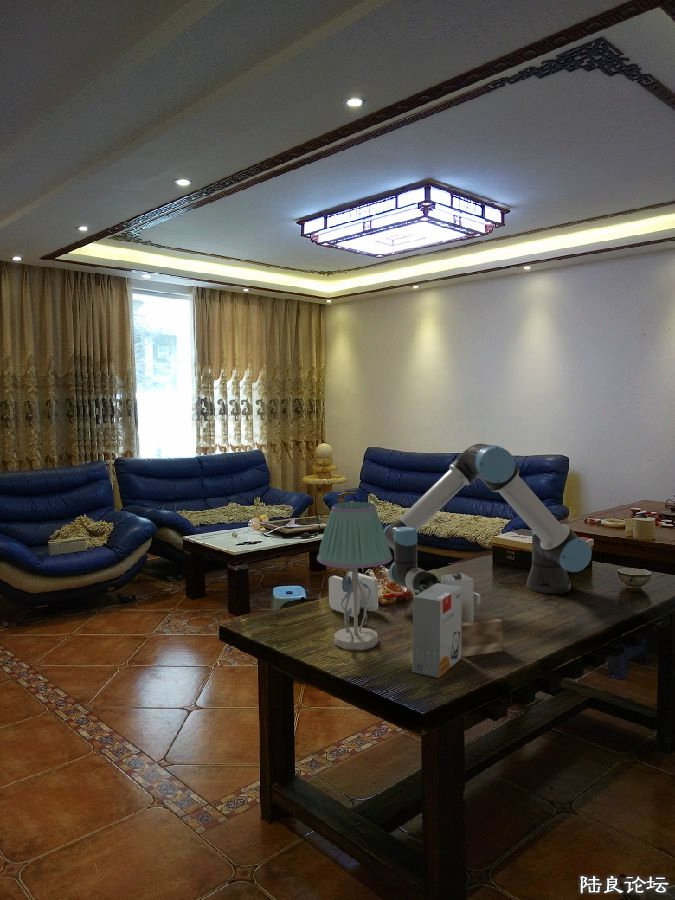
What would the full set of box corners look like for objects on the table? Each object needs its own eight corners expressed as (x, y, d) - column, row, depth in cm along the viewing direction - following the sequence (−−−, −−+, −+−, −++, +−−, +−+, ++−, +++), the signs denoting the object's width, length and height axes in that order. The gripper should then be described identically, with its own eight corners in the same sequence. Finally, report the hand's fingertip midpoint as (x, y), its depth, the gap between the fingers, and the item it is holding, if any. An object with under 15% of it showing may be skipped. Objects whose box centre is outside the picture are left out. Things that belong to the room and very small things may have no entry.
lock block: (462, 619, 196) (462, 570, 195) (473, 626, 189) (473, 576, 188) (440, 621, 194) (440, 572, 193) (451, 629, 187) (451, 578, 186)
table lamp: (342, 624, 205) (340, 497, 202) (405, 636, 194) (404, 502, 191) (304, 647, 186) (301, 508, 183) (371, 662, 175) (369, 514, 172)
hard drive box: (439, 679, 164) (439, 601, 162) (411, 673, 168) (411, 597, 166) (462, 658, 177) (462, 585, 175) (436, 652, 181) (435, 581, 179)
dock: (471, 629, 198) (471, 601, 198) (502, 651, 181) (502, 620, 180) (434, 634, 195) (434, 606, 194) (463, 656, 178) (463, 626, 177)
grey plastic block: (327, 608, 221) (326, 574, 220) (351, 602, 227) (350, 569, 226) (355, 620, 209) (355, 584, 208) (380, 612, 215) (379, 578, 215)
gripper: (449, 589, 212) (495, 608, 192) (394, 599, 203) (436, 620, 183) (449, 566, 212) (495, 583, 191) (394, 575, 202) (436, 594, 182)
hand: (467, 601), depth 187 cm, fingers closed on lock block, 8 cm apart
